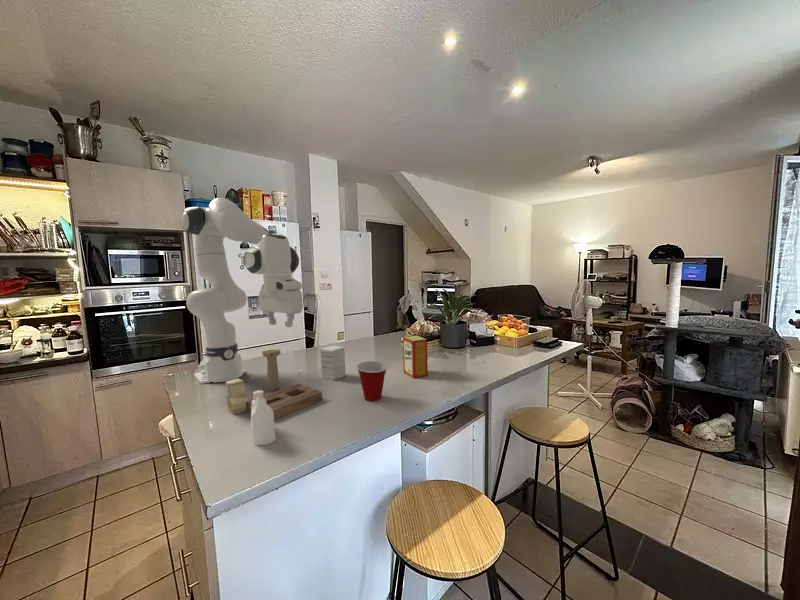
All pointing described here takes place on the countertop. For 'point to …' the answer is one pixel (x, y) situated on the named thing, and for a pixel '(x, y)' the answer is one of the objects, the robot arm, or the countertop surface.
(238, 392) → the maple peg
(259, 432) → the white sloped-shoulder bottle
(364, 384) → the plastic cup
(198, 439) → the countertop surface
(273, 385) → the handle
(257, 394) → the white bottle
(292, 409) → the socket block
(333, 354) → the mini drawer cabinet
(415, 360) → the baking soda box
